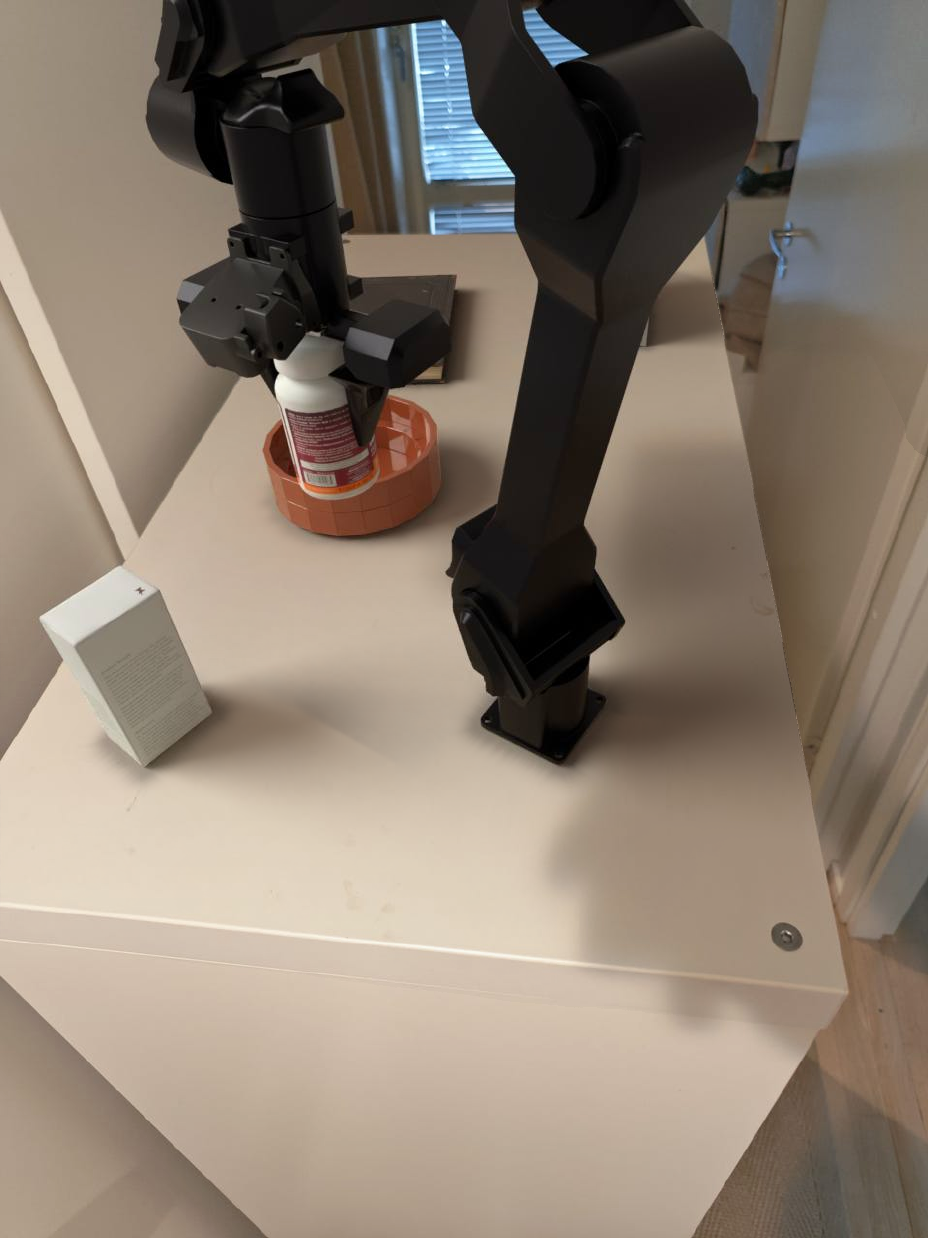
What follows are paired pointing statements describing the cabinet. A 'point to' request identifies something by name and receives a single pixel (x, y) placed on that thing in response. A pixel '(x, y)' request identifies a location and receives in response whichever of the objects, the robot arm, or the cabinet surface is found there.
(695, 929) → the cabinet surface
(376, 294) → the hardcover book
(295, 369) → the pill bottle
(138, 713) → the cosmetic box
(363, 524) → the bowl
